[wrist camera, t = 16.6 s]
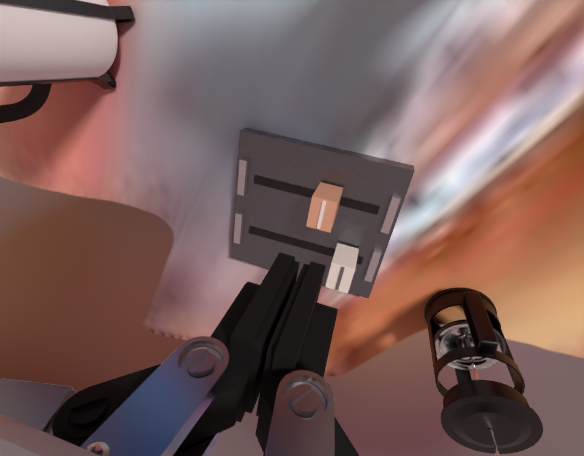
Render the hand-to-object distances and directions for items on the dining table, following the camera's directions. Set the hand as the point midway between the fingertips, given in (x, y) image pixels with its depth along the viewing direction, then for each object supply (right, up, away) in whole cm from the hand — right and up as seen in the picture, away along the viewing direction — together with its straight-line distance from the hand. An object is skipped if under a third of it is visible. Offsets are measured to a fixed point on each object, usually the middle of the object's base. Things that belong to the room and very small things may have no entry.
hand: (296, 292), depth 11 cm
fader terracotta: (+5, +6, +30) cm, 31 cm away
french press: (+24, -10, +35) cm, 44 cm away
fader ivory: (+7, -2, +33) cm, 34 cm away
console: (+3, +4, +35) cm, 35 cm away
